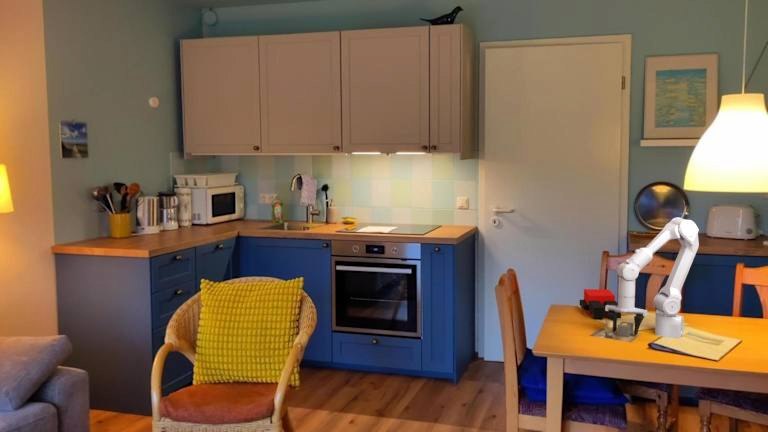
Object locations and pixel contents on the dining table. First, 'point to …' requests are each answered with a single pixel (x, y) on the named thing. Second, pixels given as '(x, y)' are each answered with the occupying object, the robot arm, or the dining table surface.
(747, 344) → the dining table surface
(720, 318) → the dining table surface
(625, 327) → the block
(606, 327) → the tan capsule cylinder
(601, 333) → the subfloor panel
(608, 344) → the dining table surface
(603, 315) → the red-and-black block model
